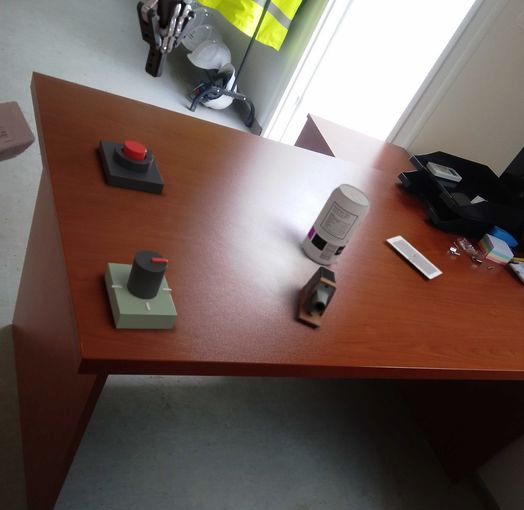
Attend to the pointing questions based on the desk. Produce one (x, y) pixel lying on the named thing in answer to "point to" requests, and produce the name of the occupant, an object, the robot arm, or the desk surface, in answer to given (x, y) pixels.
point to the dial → (146, 274)
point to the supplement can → (336, 224)
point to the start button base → (129, 169)
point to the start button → (134, 150)
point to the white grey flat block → (414, 257)
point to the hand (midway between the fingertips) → (152, 74)
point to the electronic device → (316, 297)
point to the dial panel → (137, 302)
